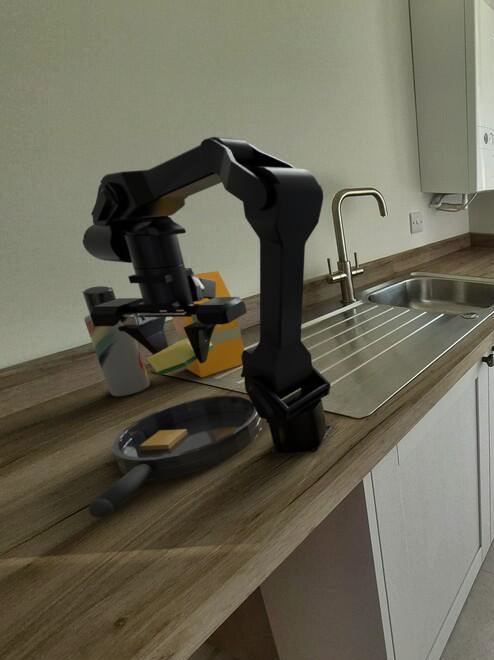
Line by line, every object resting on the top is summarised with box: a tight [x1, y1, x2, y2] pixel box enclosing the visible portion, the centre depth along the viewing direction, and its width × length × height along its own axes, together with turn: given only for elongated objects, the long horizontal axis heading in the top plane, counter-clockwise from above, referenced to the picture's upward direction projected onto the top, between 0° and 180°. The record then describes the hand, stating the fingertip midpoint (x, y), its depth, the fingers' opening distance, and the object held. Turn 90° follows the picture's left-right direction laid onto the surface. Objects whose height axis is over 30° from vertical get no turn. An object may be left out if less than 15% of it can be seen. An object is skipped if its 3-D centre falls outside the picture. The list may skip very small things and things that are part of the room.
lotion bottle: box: [82, 285, 151, 397], centre depth 75 cm, size 6×6×20 cm
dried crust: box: [139, 429, 188, 450], centre depth 61 cm, size 4×4×1 cm
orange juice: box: [171, 270, 245, 378], centre depth 85 cm, size 8×9×20 cm
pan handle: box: [88, 464, 153, 518], centre depth 49 cm, size 2×8×2 cm, turn 4°
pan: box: [111, 394, 263, 481], centre depth 61 cm, size 17×17×4 cm
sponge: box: [146, 338, 214, 376], centre depth 64 cm, size 7×4×3 cm, turn 5°
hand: (185, 362), depth 65 cm, fingers closed on sponge, 5 cm apart
